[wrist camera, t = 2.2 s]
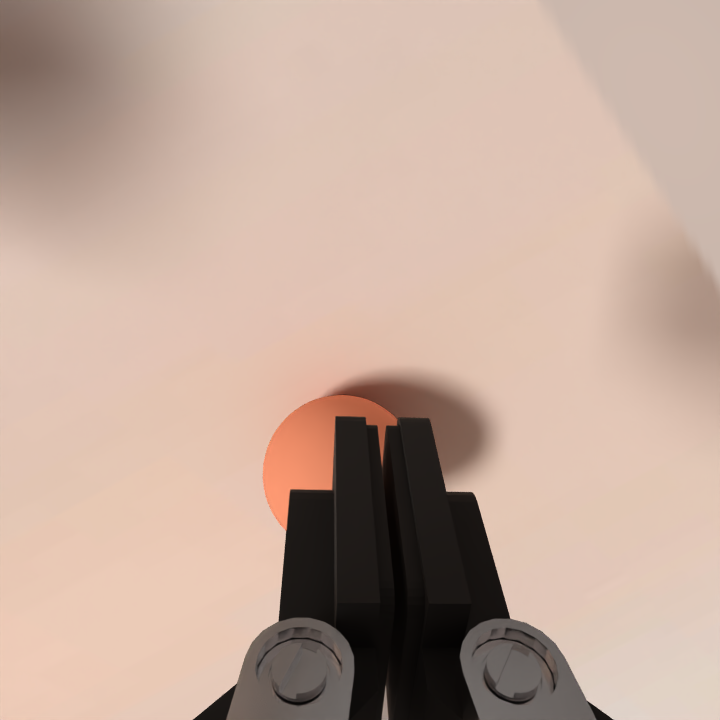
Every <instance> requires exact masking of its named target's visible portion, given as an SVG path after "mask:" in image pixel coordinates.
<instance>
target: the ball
mask: <svg viewBox="0 0 720 720" xmlns="http://www.w3.org/2000/svg"><path fill="white" fill-rule="evenodd" d="M335 416H356V417H366V425H377V426H378V434H379V444H380V453H381V463H382V462H383V451H384V440H385V430H386V426H387V425H396V426H397V419H396V418H395V417H394V416H393V415H392V414H391V413H390V412H389V411H387V410H386V409H384V408H383V407H381V406H380V405H378V404H376V403H374V402H372V401H370V400H367V399H364V398H360V397H355V396H347V395H334V396H327V397H323V398H319V399H316V400H313V401H310V402H308V403H306V404H304V405H302V406H301V407H299V408H298V409H297V410H295V411H294V412H292V413H291V414H290V415H289V416H288V417H287V418H286V419H285V420H284V421H283V422H282V423H281V425H280V426H279V427H278V428H277V430H276V432H275V433H274V435H273V437H272V439H271V441H270V443H269V445H268V448H267V451H266V455H265V459H264V465H263V483H264V490H265V495H266V498H267V501H268V504H269V506H270V509H271V511H272V513H273V514H274V516H275V517H276V519H277V520H278V522H279V523H280V525H281V526H282V527H283V528H284V529H285V530H287V518H288V506H289V495H290V489H305V490H332V480H333V457H334V433H335Z"/></svg>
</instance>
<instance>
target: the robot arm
mask: <svg viewBox="0 0 720 720" xmlns="http://www.w3.org/2000/svg"><path fill="white" fill-rule="evenodd" d="M385 687H386V695H387V708H388V720H613V719H612V718H610V717H609V716H608V715H606V714H605V713H603V712H602V711H601V710H599V709H598V708H597V707H595V706H594V705H592V704H591V703H590V702H588V701H587V700H586V698H585V696H584V694H583V692H582V690H581V688H580V686H579V684H578V682H577V680H576V679H575V677H574V675H573V673H572V671H571V669H570V667H569V665H568V663H567V661H566V659H565V657H564V656H563V654H562V653H561V651H560V650H559V648H558V647H557V645H556V644H555V643H554V642H553V641H552V640H551V639H550V638H549V637H547V636H546V635H545V634H544V633H543V632H542V631H540V630H538V629H536V628H534V627H533V626H531V625H529V624H527V623H524V622H520V621H516V620H513V619H510V616H509V612H508V609H507V605H506V602H505V598H504V595H503V591H502V588H501V584H500V580H499V577H498V573H497V570H496V566H495V563H494V559H493V556H492V552H491V549H490V545H489V542H488V538H487V535H486V531H485V528H484V524H483V520H482V517H481V513H480V510H479V506H478V503H477V500H476V497H475V495H474V494H473V493H472V492H446V489H445V484H444V480H443V475H442V471H441V467H440V462H439V458H438V453H437V449H436V445H435V440H434V436H433V431H432V427H431V423H430V419H429V418H398V420H397V426H396V425H387V426H386V430H385V440H384V451H383V462H382V463H381V453H380V444H379V434H378V426H377V425H366V417H356V416H335V433H334V457H333V480H332V490H305V489H290V495H289V506H288V518H287V530H286V541H285V553H284V564H283V576H282V588H281V599H280V611H279V622H277V623H275V624H273V625H272V626H270V627H268V628H267V629H265V630H263V631H262V632H261V633H260V634H259V636H258V637H257V638H256V639H255V640H254V641H253V642H252V644H251V646H250V648H249V650H248V652H247V654H246V656H245V659H244V662H243V665H242V669H241V672H240V675H239V679H238V682H237V684H236V685H235V686H233V687H232V688H231V689H230V690H229V691H227V692H226V693H225V694H224V695H223V696H221V697H220V698H219V699H218V700H216V701H215V702H214V703H213V704H212V705H210V706H209V707H208V708H207V709H206V710H204V711H203V712H202V713H201V714H199V715H198V716H197V717H196V718H195V719H193V720H382V712H383V703H384V695H385Z"/></svg>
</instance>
